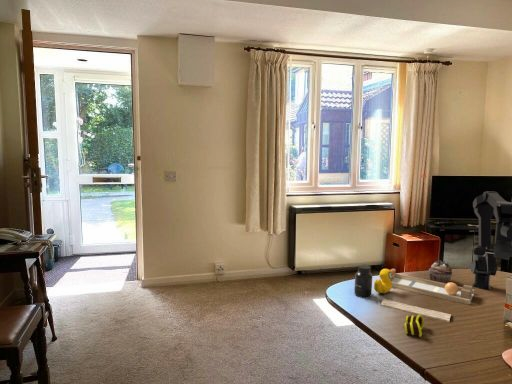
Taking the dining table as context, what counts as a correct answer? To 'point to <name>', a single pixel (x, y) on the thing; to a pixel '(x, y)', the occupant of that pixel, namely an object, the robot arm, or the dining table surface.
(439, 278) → the cupcake
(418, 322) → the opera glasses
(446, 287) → the ball
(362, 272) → the supplement bottle
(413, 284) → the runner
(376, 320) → the dining table surface
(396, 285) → the lane rails
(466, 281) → the dining table surface
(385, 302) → the beige long flat bar
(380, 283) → the duckling
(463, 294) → the paddle block
